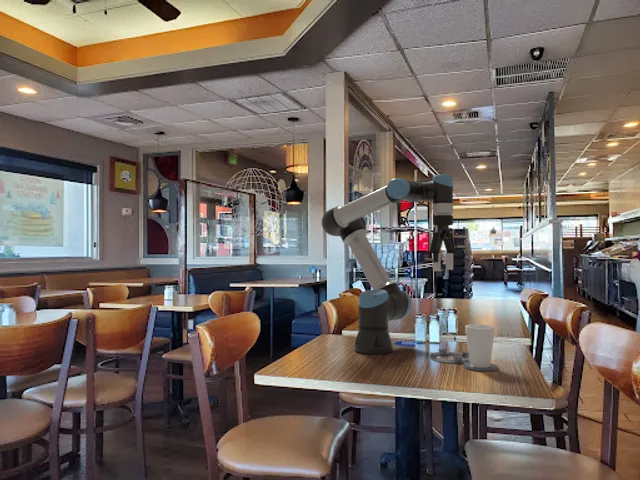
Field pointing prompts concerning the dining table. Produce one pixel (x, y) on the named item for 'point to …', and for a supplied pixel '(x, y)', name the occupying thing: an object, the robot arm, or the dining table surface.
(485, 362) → the foam cup
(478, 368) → the coaster
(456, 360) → the collar
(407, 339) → the dining table surface
